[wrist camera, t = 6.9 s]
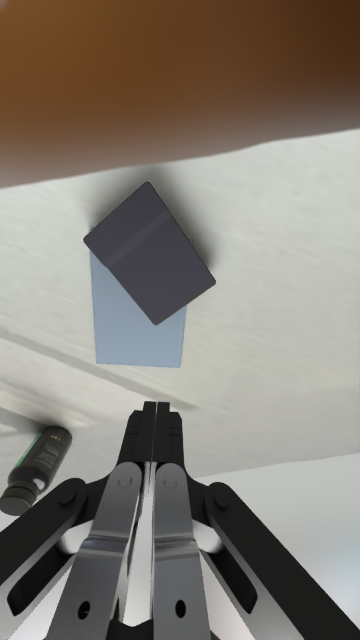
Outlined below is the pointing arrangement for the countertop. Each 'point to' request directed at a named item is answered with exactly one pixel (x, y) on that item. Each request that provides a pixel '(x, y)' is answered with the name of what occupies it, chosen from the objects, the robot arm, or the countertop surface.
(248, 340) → the countertop surface
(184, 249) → the dark grey boxy piece
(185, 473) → the robot arm
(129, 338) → the mat
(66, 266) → the countertop surface
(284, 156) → the countertop surface
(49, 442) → the supplement bottle
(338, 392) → the countertop surface
